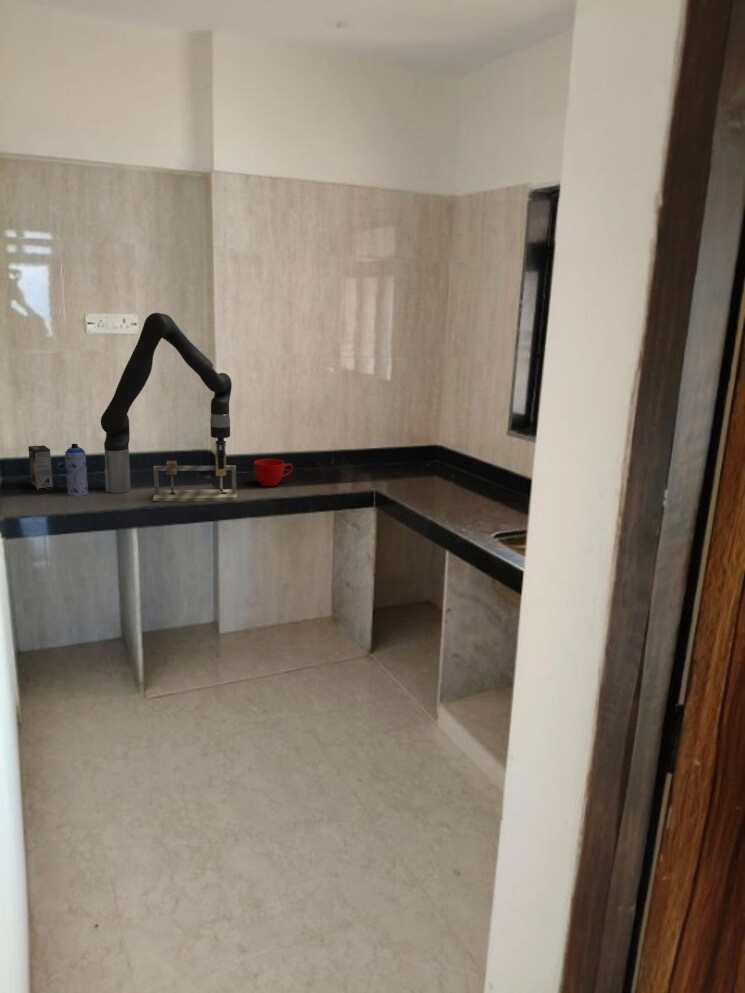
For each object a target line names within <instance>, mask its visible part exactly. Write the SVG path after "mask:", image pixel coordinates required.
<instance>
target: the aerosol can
mask: <svg viewBox="0 0 745 993" xmlns="http://www.w3.org/2000/svg"><path fill="white" fill-rule="evenodd" d="M64 460H65V471H66V473H65V474H66V475H65V476H66V488H67V493H68V494H71V495H83V494H87V493H88V492H89V486H88V484H89V483H88V474H87V473H88V472H87V471H88V470H87V456H86V451H85V450H84V449H83V448H82V447H80V446H78V443H71V447H69V448H68V449H66V451H65V452H64ZM68 494H67V495H68ZM88 494H89V493H88ZM88 494H87V495H88ZM83 496H84V495H83Z"/></svg>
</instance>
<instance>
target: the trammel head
mask: <svg viewBox="0 0 745 993" xmlns="http://www.w3.org/2000/svg"><path fill="white" fill-rule="evenodd" d="M219 456H223V454H219ZM217 457H218V454H217V453H216V452H215V466H216V470H215V477H218V476H219V490H220V492H223V489H224V488H223V487H224V486H223V481H224V480H223V477H226V476H227V470H226V465H227V451H225V454H224V469H218V459H217Z"/></svg>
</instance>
